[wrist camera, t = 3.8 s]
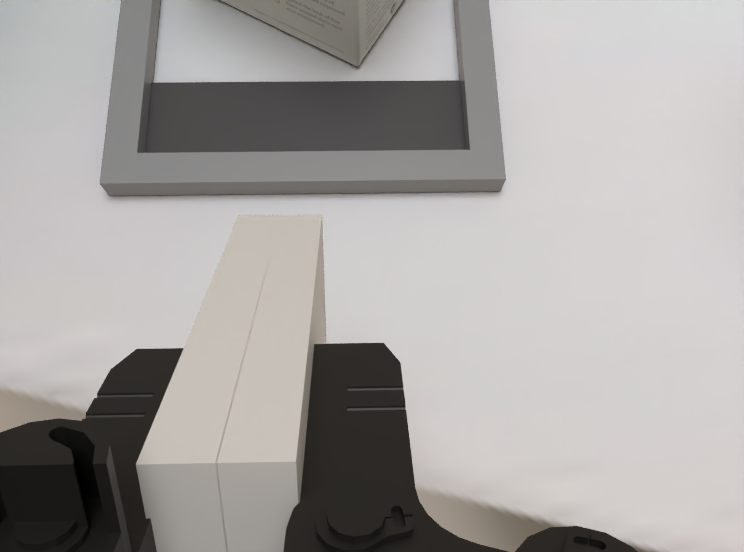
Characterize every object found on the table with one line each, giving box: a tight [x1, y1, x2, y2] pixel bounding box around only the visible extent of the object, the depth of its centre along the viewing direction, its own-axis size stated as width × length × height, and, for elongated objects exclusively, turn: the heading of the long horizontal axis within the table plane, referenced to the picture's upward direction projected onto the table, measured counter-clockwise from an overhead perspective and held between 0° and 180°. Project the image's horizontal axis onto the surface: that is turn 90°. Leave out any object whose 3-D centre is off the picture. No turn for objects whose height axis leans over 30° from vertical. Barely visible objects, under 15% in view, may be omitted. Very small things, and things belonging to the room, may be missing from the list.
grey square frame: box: [100, 0, 506, 196], centre depth 27 cm, size 14×15×1 cm
